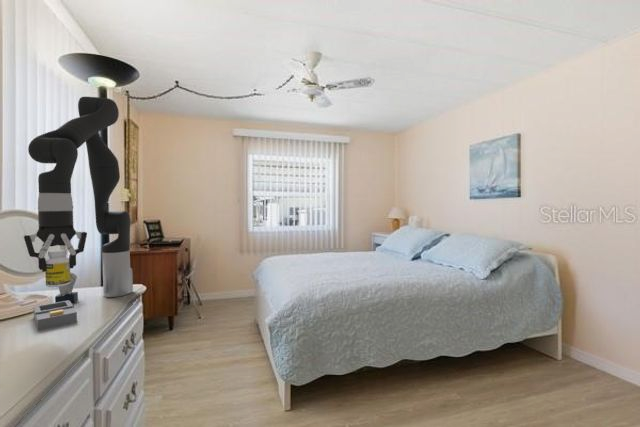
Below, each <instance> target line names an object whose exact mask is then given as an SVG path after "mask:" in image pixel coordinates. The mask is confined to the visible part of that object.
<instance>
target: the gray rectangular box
mask: <svg viewBox="0 0 640 427" xmlns="http://www.w3.org/2000/svg"><path fill="white" fill-rule="evenodd" d="M77 315H78V314H77V310H76V309H75V308H74V305H73V304H72V303H71V302H70V301H69V300H67V301H61V302H56V303H55V302H52V303H51V302H50V303H45V304H41V305H40V304H39V305H33V319H34V322H35V325H36V328H37V331H41V330H45V329H51V328H55V327H59V326H64V325H67V324H74V323H77V322H78V316H77Z"/></svg>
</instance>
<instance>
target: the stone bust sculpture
mask: <svg viewBox="0 0 640 427" xmlns="http://www.w3.org/2000/svg"><path fill="white" fill-rule="evenodd" d="M77 279H78V276H77V275H76V274H75V273H74V272H71V271H70V284H68V285H65V286H60V287H58V289H59V293H58V294H57V295H56V296H54V301H55V302H54V303H56V302H61V301H67V300H69V301H70V302H71V303H72V305H73V304H75V303H77V302H78V301H79V293H78V291H73V289H74V286H75V284H76V281H77Z"/></svg>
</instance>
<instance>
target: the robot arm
mask: <svg viewBox="0 0 640 427" xmlns="http://www.w3.org/2000/svg"><path fill="white" fill-rule="evenodd" d="M77 101H78V103H77V111H78V116H79V117H78V116H77V117H74V118H71V119H70V120H67V121H66V122H64V123H63V124H62V125H60V126H59V127H58V128H56V129H55V130H52V131H48V132H45V133H42V134H40V135H38V136H36V137H35V138H33V139H32V140H30V143H29V144H28V148H27V150H28V154H29V156H30V158H31V159H32V160H33V161H35V162H37V163H40V164H55V166H54V167H53V169H52V170H49V171H43V172H41V173H40V174H38V178H37V179H38V182H37V184H38V199H37V214H38V217H37V218H38V219H37V220H38V230H37V231H36V233H30V234H24V235H23V240H24V242H25V245H26V248H27V252H28V255H29V257H30V258H31V257H32V258H37V259H38V269H39V271H42V273H44V272H46V260H47V259H46V257H45V256H46V254H47V253H48V251H49V248H50V247H56V246H60V247H61V246H64V247H65V248H66V249H67V251H68V252H69V255H68V258H69V259H70V270H71V269H74V267H76V265H77V255H78V254H80V253H83V252H84V251H85V246H86V240H87V237H88V236H87V235H88V233H87V231H76V229H75V228H74V205H73V202H74V201H73V197H72V185H71V184H72V182H71V181H72V176H73V174H74V173H73V172H74V170H75V165H76V163H77V160H78V154H79V152H78V149H79V148H81V146H83V144H85V145H86V146H85V147H86V152H87V159H88V160H87V161H88V168H89V174H90V178H91V185H92V191H93V198H94V212H95V225H96V230H97V231H98V233H99V234H100V235H117V238H116V239H114V240H112V241H109V242H107V243H105V244H103V245H102V247H101V252H102V253H101V255H102V256H101V257H102V261H101V262H102V287H103V288H102V289H103V297H105V298H115V297H116V298H117V297H122V296H126V295H128V294H131V293H132V292H134V282H133V280H134V278H133V268H132V267H131V256H130V255H131V254H130V250H131V247H130V245H131V217H130V213H129V212H128V211H126V210H109V209H108V202H109V199H110V197H111V195H112V193H113V192H114V190H115V188H116V187H117V185H118V184H119V182H120V179H121V174H120V166H119V161H118V159H117V156H116V155H115V154H114V153H113V151H112V150H111V149H110V147H109V146H108V145H107V144H106V143H105V142H104V140H103V139H102V137H101V134H100V132H101V131H103V130H105V129H107V128H109V127H110V126H111V127H112V126H113V125H115V124H116V123H117V121H118V120H119V113H120V111H119V108H118V105H117V103H116V102H115V101H114V100H113V99H111V98H108V97H99V96H81V97H80V98H79V99H78V100H77ZM75 235H76V238H77V239H78V243H77V244H78V245H77V248H74V246H73V244H72V243H71V240H72V239H73V238H74V237H75ZM36 238H38V239H39V240H41V242H42V245H41V248H40V249H39V252H38V251H37V252H36V251H35V249H34V245H33V243H34V242H35V241H36Z"/></svg>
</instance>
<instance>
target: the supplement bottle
mask: <svg viewBox="0 0 640 427" xmlns="http://www.w3.org/2000/svg"><path fill="white" fill-rule="evenodd" d="M67 254H68V252H67V250H66V249H54V250H47V257H49V258H47V259H46V272H45V286H46V287H47V288H59V287H60V286H65V285H68V284H70V272H71V269H70V259H69V257H67Z"/></svg>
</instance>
